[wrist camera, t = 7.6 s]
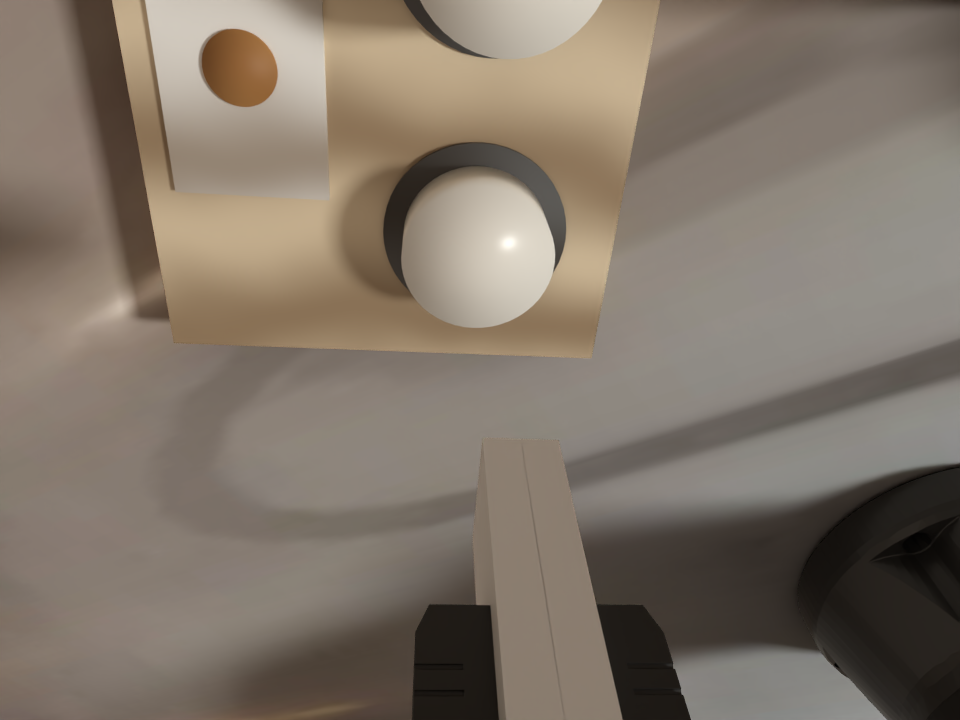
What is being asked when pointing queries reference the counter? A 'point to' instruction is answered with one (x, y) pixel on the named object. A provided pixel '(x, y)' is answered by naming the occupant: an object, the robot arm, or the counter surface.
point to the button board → (367, 163)
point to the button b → (510, 24)
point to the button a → (476, 247)
